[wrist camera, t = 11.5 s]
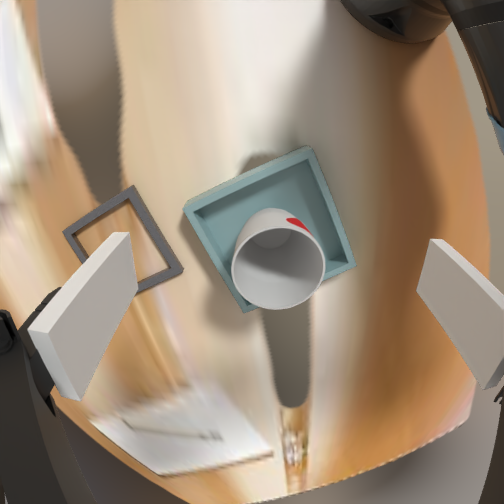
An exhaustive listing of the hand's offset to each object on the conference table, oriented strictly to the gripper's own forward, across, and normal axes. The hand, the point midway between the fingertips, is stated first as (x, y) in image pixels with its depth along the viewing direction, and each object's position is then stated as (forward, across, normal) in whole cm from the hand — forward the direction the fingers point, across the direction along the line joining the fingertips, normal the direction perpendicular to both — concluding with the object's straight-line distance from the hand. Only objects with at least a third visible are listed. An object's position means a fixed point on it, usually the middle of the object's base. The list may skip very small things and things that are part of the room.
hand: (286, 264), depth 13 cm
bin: (+23, +1, -7) cm, 24 cm away
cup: (+22, +1, -7) cm, 24 cm away
